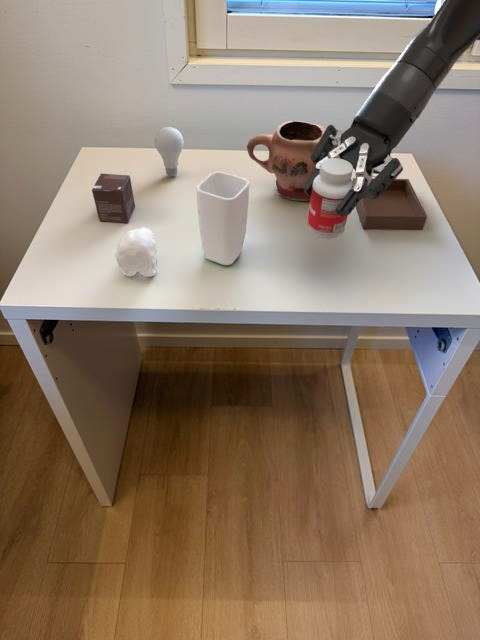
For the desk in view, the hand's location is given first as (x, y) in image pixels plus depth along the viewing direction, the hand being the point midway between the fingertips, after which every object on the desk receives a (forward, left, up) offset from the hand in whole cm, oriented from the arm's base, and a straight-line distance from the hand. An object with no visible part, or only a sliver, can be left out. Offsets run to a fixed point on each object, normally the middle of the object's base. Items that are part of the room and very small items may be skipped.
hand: (323, 203), depth 71 cm
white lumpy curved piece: (+28, +13, -16) cm, 34 cm away
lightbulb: (+42, -14, -16) cm, 47 cm away
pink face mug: (+17, -24, -16) cm, 34 cm away
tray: (-3, -29, -16) cm, 34 cm away
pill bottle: (-1, -2, -6) cm, 6 cm away
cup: (+17, +3, -16) cm, 23 cm away
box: (+42, +4, -16) cm, 45 cm away
